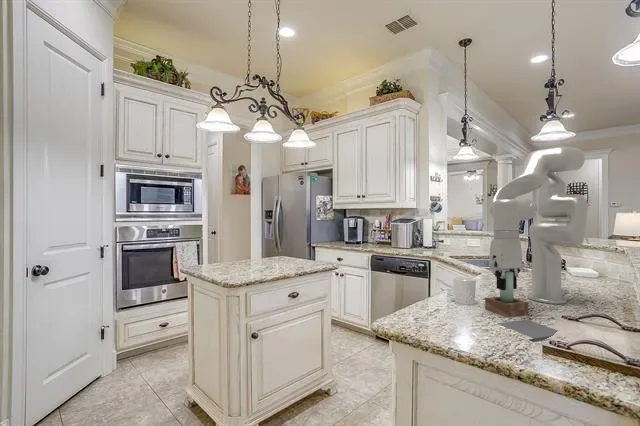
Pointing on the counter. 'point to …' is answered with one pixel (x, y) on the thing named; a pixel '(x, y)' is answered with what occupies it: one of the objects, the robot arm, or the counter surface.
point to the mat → (530, 329)
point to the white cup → (464, 290)
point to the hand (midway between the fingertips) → (506, 288)
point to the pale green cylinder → (507, 288)
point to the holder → (506, 307)
